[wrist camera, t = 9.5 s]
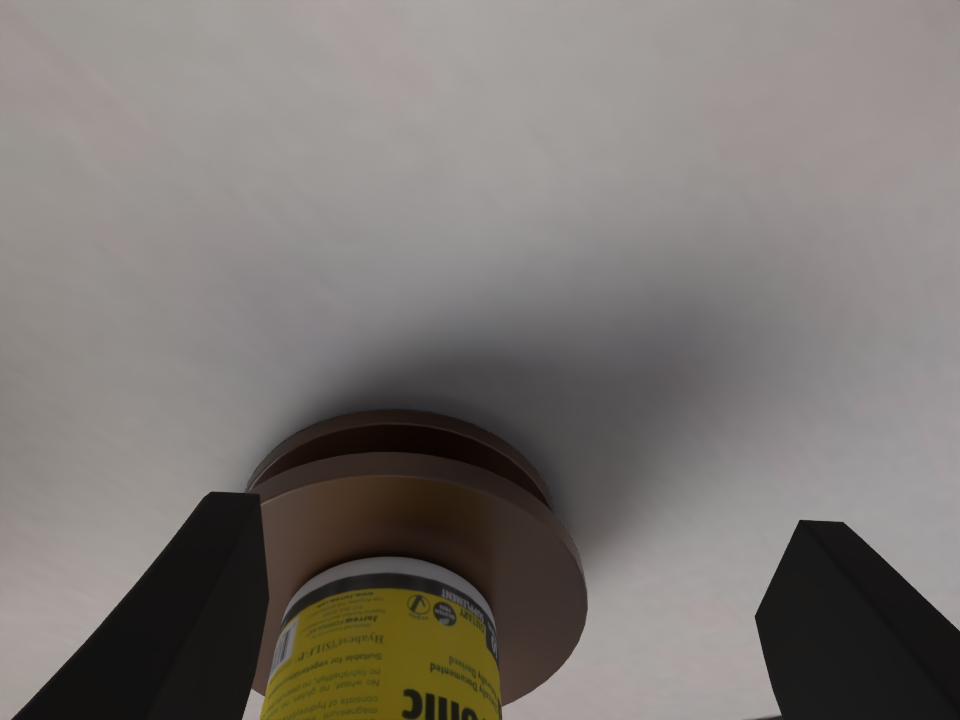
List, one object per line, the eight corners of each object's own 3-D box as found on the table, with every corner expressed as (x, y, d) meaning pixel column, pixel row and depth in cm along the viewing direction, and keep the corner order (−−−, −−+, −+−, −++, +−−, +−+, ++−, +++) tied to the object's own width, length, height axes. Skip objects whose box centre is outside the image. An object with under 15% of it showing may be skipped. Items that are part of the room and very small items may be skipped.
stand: (602, 404, 19) (624, 485, 17) (545, 644, 25) (556, 732, 22) (204, 381, 18) (165, 463, 16) (237, 633, 24) (212, 723, 22)
